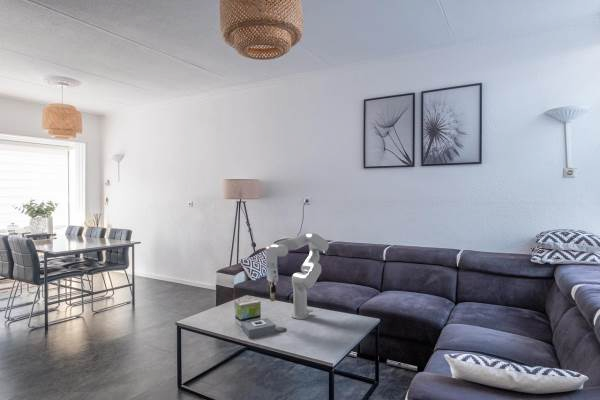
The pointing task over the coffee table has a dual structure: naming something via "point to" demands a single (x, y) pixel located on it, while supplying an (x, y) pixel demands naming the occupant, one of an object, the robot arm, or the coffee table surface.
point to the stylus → (272, 294)
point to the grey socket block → (258, 327)
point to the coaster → (280, 329)
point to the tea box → (247, 311)
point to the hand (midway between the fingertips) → (272, 291)
